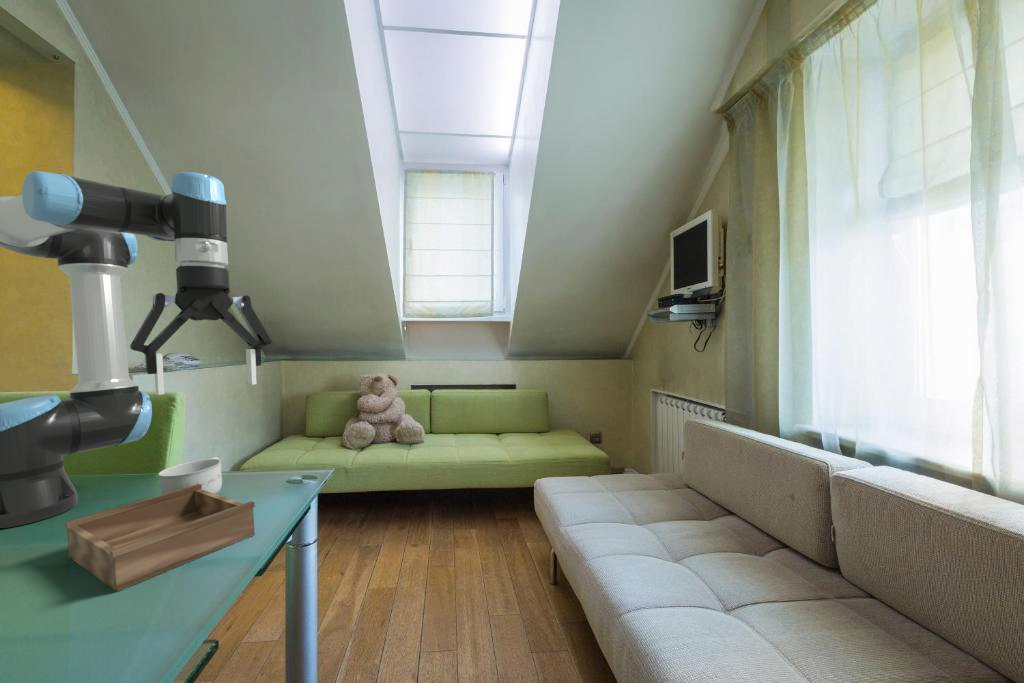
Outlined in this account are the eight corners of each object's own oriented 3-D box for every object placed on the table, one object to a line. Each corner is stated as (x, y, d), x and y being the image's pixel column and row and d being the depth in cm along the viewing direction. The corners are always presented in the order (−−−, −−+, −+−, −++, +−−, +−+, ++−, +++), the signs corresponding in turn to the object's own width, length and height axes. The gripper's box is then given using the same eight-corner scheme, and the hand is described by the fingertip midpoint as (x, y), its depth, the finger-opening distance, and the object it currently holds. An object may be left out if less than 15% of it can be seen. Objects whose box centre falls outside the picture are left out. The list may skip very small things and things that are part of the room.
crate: (67, 557, 72) (64, 522, 72) (200, 512, 89) (198, 483, 89) (115, 592, 62) (112, 552, 61) (256, 534, 78) (254, 502, 78)
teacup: (190, 514, 88) (188, 475, 87) (146, 511, 90) (144, 472, 90) (246, 488, 101) (244, 454, 101) (206, 486, 104) (204, 452, 103)
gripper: (108, 257, 65) (116, 400, 66) (286, 270, 83) (291, 382, 84) (103, 263, 70) (111, 395, 71) (272, 273, 88) (277, 379, 89)
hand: (208, 388), depth 78 cm, fingers open, 13 cm apart
